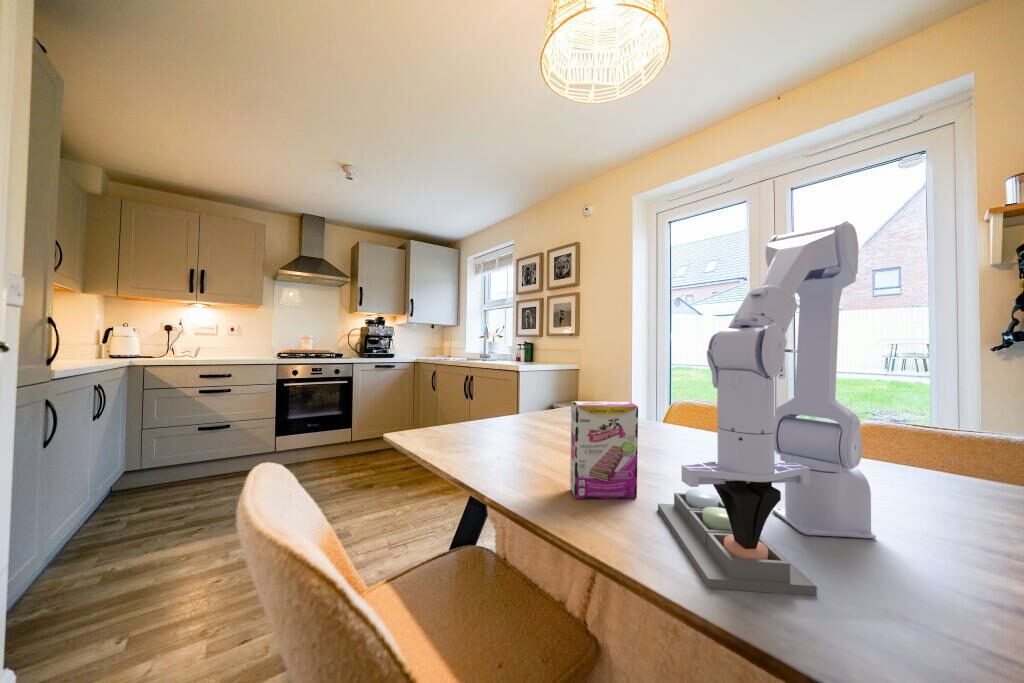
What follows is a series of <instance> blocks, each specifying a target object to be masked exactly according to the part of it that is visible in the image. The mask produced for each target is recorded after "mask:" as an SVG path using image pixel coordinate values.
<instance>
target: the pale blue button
mask: <svg viewBox="0 0 1024 683" xmlns="http://www.w3.org/2000/svg"><path fill="white" fill-rule="evenodd" d="M685 493H686V504H687V505H688V506H689V507H690V508H700V509H704V508H706V507H718V498H719V495H717V494H715V493H714V492H712V491H708V490H704V489H688V490H686V492H685Z"/></svg>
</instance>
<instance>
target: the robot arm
mask: <svg viewBox="0 0 1024 683" xmlns="http://www.w3.org/2000/svg"><path fill="white" fill-rule="evenodd" d="M858 240H859V239H858V234H857V231H856V228H855V226H854V224H852V223H850V222H849V221H848V220H843V221H840V222H838V223H834V224H829V225H825V226H820V227H814V228H810V229H809V228H808V229H806V230H800V231H795V232H790V233H786V234H781V235H780V234H776V235H772V237H770V239H769V240H768V242H767V244H766V247H765V262H766V265H767V268H768V270H767V271H766V275H765V277H764V280H763V283H762V285H761V286H757V287H755V288H752V289H751V290H750V291H749V292H748V293H747V294H746V296H745V298H744V299H743V302H742V303H741V304H740V306H739V308H738V310H737V311H736V313H735V315H734V316H733V318H732V319H731V322H730V323H729V325H728V327H727V328H720V329H719V331H717V332H716V333H714V334H713V335H712V336H711V337H710V339H709V343H708V345H707V346H708V348H707V350H706V359H707V363H708V366H709V368H710V372H711V379H712V381H711V384H712V385H713V388H715V389H717V393H716V394H717V395H716V396H717V400H716V401H717V407H716V408H717V412H716V413H717V418H716V419H717V426H716V427H717V431H716V432H717V435H716V436H717V459H716V460H711V461H705V462H700V463H699V462H698V463H694V464H682V465H681V482H683V483H684V484H686V485H687V486H688V487H690V488H697V487H699V485H712V486H713V487H714V489H715V491H716V493H717V494H718V497H720V498H719V499H720V500H721V501H722V502H723V505H724V507H725V509H726V512H727V515H728V518H729V521H730V524H731V528H732V532H733V536H734V541H736V542H737V543H738V544H739V545H741V546H742V547H743V548H745V549H756V548H757V545H758V542H759V538H760V535H761V536H762V532H763V529H764V526H765V524H766V522H767V519H768V518H769V516H770V514H771V512H773V513H774V514H776V515H777V516H778V517H780V518H781V519H782V520H783V521H784V522H787V523H788V524H789V525H790V526H792V527H793V528H795V529H796V530H797V531H798V532H799V533H801V534H802V535H803V534H804V535H807V536H820V537H821V536H825V537H839V538H840V537H845V538H846V537H847V538H863V539H876V538H877V535H876V533H873V532H872V492H871V486H870V484H869V481H868V478H867V477H866V476H865V474H864V473H863V472H862V471H860V469H858V468H856V467H858V466H859V465H860V462H861V460H862V455H863V437H862V433H861V421H860V420H859V417H858V415H857V414H856V413H855V412H854V411H852V410H851V409H849V408H847V406H845V405H844V404H842V403H841V402H839V401H838V400H837V399H836V393H837V390H836V389H837V369H838V346H839V344H838V341H839V320H840V319H839V317H840V315H839V314H840V304H841V298H842V293H843V289H845V288H847V287H848V286H851V285H852V284H854V283H855V282H856V281H857V280H856V279H857V274H858V272H859V271H858V269H859V268H858V265H859V241H858ZM795 294H797V295H798V297H799V305H798V303H797V300H796V298H795V296H794V295H795ZM798 307H799V309H797V308H798ZM797 310H799V311H798V327H797V328H798V330H797V346H796V348H797V349H796V350H797V351H796V369H795V388H794V397H792V398H791V399H789V400H787V401H785V402H783V403H782V404H780V405H778V406H777V407H776V408H775V377H777V376H778V375H779V374H780V373H781V370H782V369H783V366H784V363H785V362H784V361H785V351H786V347H787V341H788V340H787V338H786V336H785V335H786V334H787V331H788V329H789V327H790V324H791V323H792V321H793V318H794V316H795V314H796V312H797ZM799 416H805V417H812V418H813V417H814V418H820V419H826V420H827V419H828V420H831V421H834V422H830V421H824V420H823V421H821V420H815V419H806V418H802V417H801V418H799ZM775 453H776V454H777V455H779V456H780V457H779V458H780V461H782V462H780V461H779V462H778V461H775ZM782 483H784V507H776V506H777V504H778V503H780V501H782V499H781V498H782V494H781V490H780V489H778V488H775V487H774V486H773V485H772V484H782Z"/></svg>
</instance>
